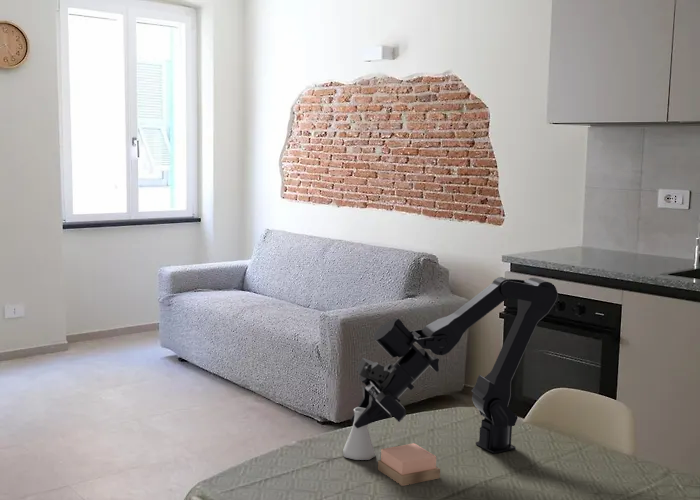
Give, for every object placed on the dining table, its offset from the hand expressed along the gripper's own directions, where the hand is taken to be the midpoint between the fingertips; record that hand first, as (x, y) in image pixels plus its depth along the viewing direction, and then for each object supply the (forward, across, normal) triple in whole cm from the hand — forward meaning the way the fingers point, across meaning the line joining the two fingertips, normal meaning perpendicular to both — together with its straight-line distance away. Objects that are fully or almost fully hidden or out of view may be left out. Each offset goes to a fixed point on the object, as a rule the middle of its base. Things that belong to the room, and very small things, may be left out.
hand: (353, 424), depth 171 cm
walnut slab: (-1, +11, +12) cm, 16 cm away
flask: (+4, 0, +6) cm, 7 cm away
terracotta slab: (-3, +11, +10) cm, 15 cm away
